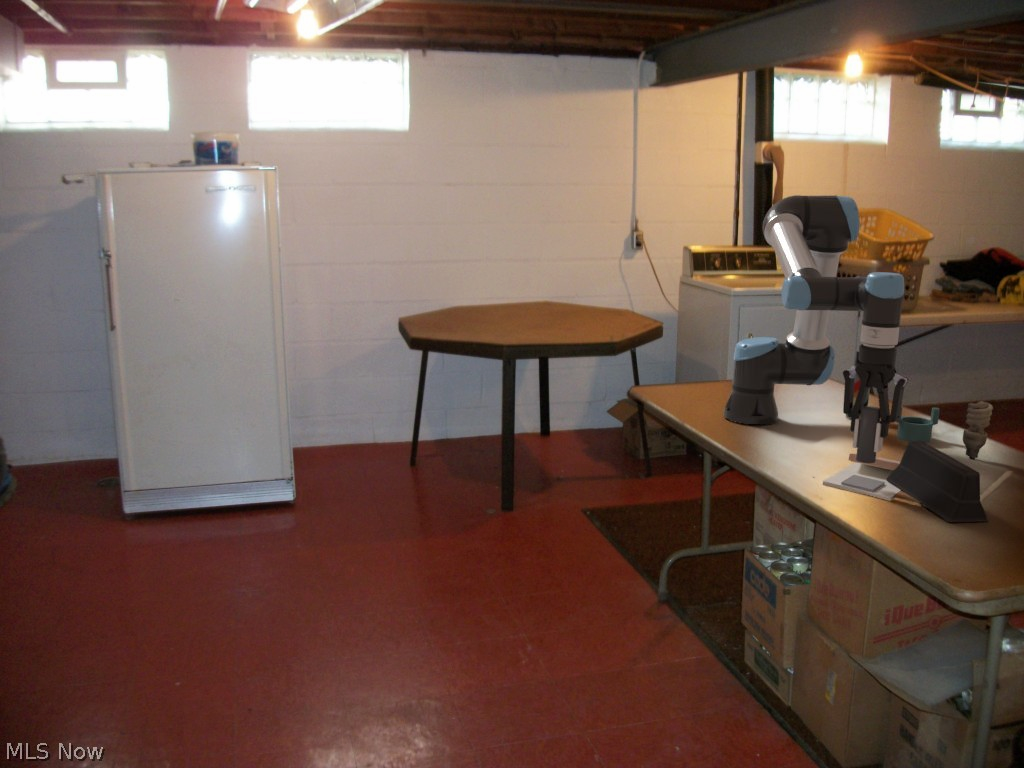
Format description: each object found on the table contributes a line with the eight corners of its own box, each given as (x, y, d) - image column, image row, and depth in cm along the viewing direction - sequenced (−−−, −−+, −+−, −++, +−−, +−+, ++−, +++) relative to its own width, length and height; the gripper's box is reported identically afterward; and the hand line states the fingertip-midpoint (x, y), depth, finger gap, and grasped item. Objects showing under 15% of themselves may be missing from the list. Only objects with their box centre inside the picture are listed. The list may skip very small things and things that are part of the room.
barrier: (885, 479, 196) (892, 438, 194) (920, 479, 198) (928, 437, 195) (949, 522, 174) (958, 476, 171) (989, 522, 175) (998, 475, 172)
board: (822, 484, 196) (823, 478, 196) (866, 458, 215) (866, 453, 214) (890, 500, 186) (891, 494, 186) (929, 472, 205) (930, 466, 204)
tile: (861, 460, 210) (848, 460, 203) (863, 453, 210) (849, 453, 203) (913, 471, 203) (901, 472, 195) (915, 464, 203) (903, 464, 195)
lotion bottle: (845, 419, 250) (852, 351, 245) (845, 415, 255) (852, 348, 250) (866, 422, 248) (873, 353, 243) (866, 417, 253) (873, 350, 248)
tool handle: (853, 460, 192) (858, 408, 189) (860, 456, 195) (865, 405, 192) (871, 464, 189) (877, 411, 187) (878, 460, 192) (884, 408, 190)
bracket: (938, 440, 231) (942, 408, 229) (916, 445, 226) (920, 412, 224) (908, 432, 238) (912, 401, 236) (886, 436, 234) (890, 404, 232)
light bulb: (988, 460, 215) (996, 401, 211) (980, 464, 211) (989, 405, 207) (964, 454, 219) (972, 397, 215) (956, 459, 215) (964, 401, 211)
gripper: (832, 341, 189) (822, 444, 194) (913, 352, 178) (900, 460, 183) (846, 337, 195) (836, 437, 200) (925, 347, 183) (912, 453, 189)
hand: (867, 448), depth 192 cm, fingers closed on tool handle, 4 cm apart
